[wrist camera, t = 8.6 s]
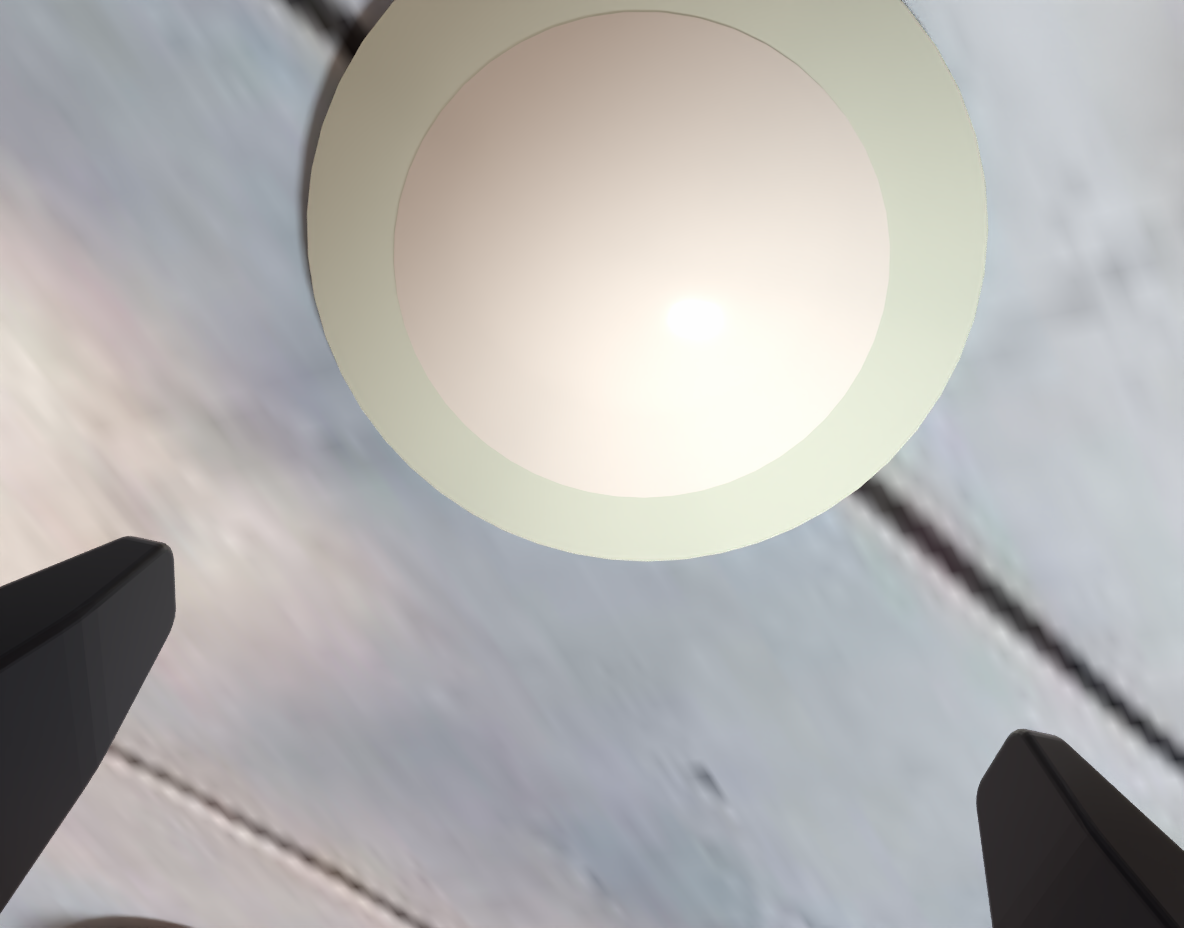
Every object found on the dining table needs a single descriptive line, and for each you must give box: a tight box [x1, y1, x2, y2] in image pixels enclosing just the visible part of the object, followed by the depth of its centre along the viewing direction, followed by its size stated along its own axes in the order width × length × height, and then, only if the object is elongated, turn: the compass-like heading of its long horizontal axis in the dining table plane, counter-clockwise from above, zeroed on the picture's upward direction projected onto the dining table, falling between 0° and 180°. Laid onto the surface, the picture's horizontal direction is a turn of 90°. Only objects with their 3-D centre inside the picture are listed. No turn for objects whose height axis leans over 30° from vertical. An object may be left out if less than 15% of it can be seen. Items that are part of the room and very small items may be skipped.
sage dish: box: [307, 0, 988, 561], centre depth 20 cm, size 15×15×1 cm
